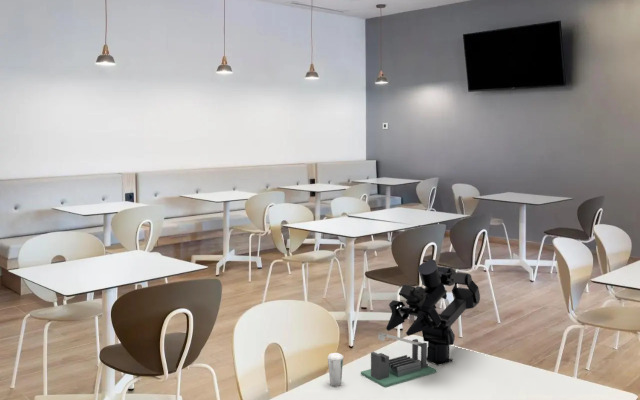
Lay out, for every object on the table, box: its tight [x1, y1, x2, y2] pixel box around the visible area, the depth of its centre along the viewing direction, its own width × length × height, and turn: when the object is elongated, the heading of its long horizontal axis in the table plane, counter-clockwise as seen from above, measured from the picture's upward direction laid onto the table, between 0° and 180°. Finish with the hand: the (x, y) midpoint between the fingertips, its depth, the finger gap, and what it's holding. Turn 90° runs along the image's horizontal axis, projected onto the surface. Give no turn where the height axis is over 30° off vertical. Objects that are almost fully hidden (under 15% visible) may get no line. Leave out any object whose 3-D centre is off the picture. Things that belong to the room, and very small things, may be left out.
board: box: [360, 357, 438, 388], centre depth 185 cm, size 20×12×1 cm, turn 123°
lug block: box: [370, 351, 390, 380], centre depth 180 cm, size 4×4×7 cm
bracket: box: [411, 338, 429, 369], centre depth 189 cm, size 2×5×8 cm, turn 33°
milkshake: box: [327, 352, 344, 387], centre depth 177 cm, size 4×5×10 cm
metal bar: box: [377, 331, 423, 348], centre depth 184 cm, size 17×2×2 cm, turn 124°
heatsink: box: [389, 354, 421, 377], centre depth 185 cm, size 9×7×3 cm
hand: (396, 332), depth 181 cm, fingers open, 9 cm apart
